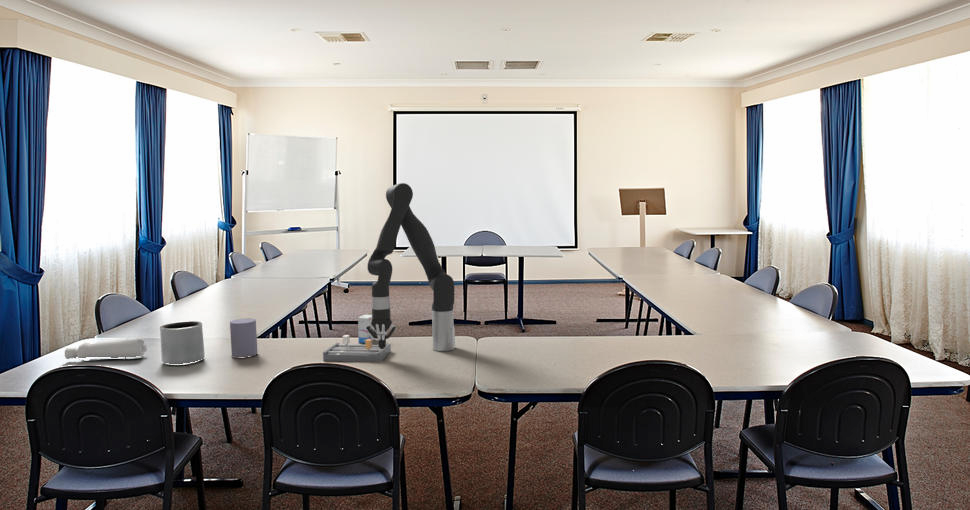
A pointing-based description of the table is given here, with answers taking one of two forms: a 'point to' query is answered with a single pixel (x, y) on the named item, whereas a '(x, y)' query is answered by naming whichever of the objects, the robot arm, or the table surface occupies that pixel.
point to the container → (243, 337)
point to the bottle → (109, 349)
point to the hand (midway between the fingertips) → (382, 348)
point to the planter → (182, 342)
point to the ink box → (364, 328)
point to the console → (355, 353)
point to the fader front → (368, 344)
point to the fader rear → (346, 340)
